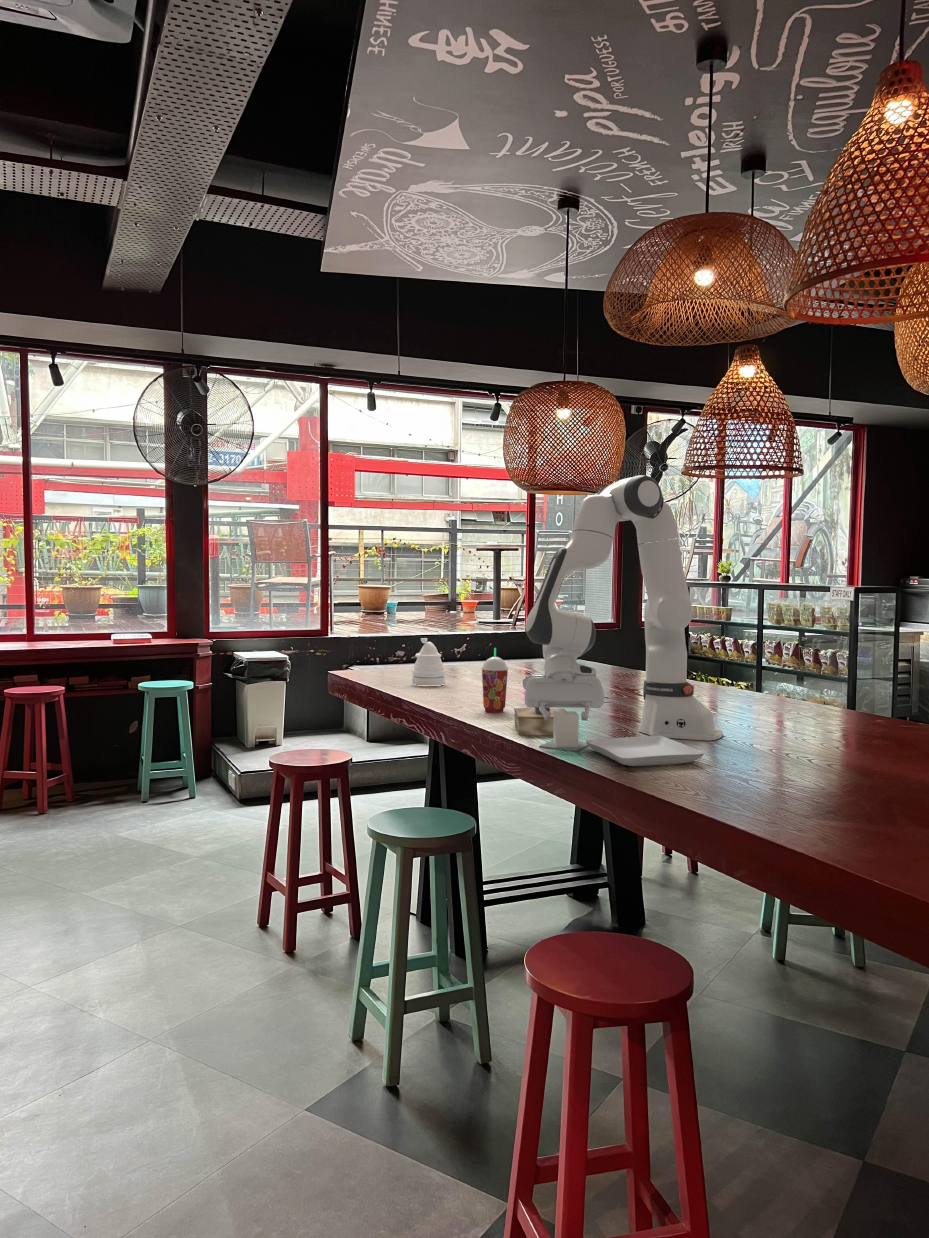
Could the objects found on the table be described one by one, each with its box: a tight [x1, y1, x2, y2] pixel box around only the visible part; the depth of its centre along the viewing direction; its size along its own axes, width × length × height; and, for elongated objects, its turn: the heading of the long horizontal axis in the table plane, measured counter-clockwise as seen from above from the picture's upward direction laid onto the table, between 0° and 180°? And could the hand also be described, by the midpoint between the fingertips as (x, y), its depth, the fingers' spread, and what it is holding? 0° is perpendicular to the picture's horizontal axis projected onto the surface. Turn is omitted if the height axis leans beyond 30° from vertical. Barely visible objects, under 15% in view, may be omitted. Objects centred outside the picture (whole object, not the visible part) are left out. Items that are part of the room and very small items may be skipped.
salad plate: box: [585, 735, 705, 767], centre depth 204 cm, size 21×21×3 cm
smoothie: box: [481, 647, 509, 714], centre depth 270 cm, size 8×8×20 cm
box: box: [513, 707, 567, 736], centre depth 238 cm, size 14×14×8 cm
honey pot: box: [411, 637, 446, 685], centre depth 333 cm, size 13×13×18 cm
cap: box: [552, 710, 580, 747], centre depth 216 cm, size 6×6×8 cm
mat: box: [538, 739, 589, 753], centre depth 217 cm, size 10×10×1 cm
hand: (566, 719), depth 216 cm, fingers open, 8 cm apart
